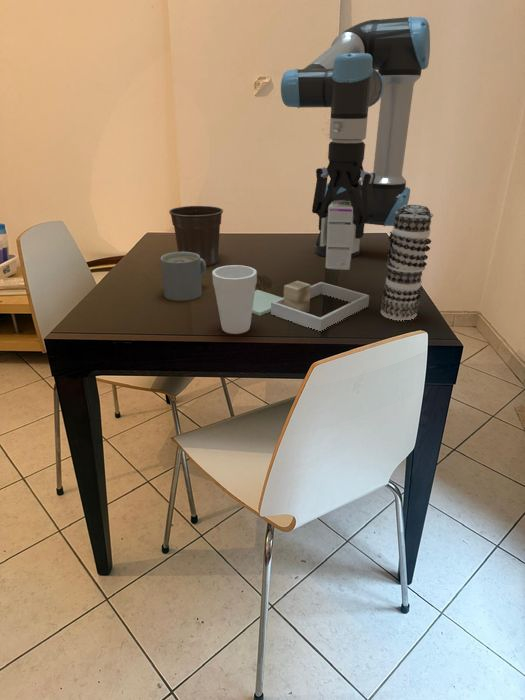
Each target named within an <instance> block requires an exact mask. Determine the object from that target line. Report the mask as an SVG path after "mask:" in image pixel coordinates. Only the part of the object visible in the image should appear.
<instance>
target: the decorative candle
mask: <svg viewBox="0 0 525 700" xmlns="http://www.w3.org/2000/svg"><path fill="white" fill-rule="evenodd" d="M395 214H396V216H395V223H394V226H392V231H389V233H390V234H389V236H388V242H390V243H389V244H388V246H387V248H388V251H387V252H386V254H387V257H388V259H387V261H386V266H387V268H388V269H387V275H386V278H385V284H383V287H384V289H383V291H382V294H383V296H382V298H381V302H382V303H381V304H380V307H381V309H380V314H381V316H383V317H384V318H387V319H388V318H389V320H391V319H392V320H393V321H396V320H397V322H405V321H404V320H410V321H412V320H411V319H413V320H415V319H416V318H417V317H416V316H418V311H419V308H418V307H419V306H420V302H419V301H420V298H421V292H422V276H423V271H425V270H426V266H427V265H428V264H427V262H426V261H425V260H427V259H428V258H429V257H428V255H427V254H426V252H428V251H430V250H431V247H430V246H428V245H430V244H431V243H432V240H431V239H430V238H429V237H430V235H431V234H430V233H431V225H432V218H433V217H434V214H433V213H431V211H430V209H429V207H427V206H426V205H425V206H424V205H422V204H421V205H420V204H407V205H404V206H402V207H401V208H400V209H399V210H398V211H397V212H395ZM415 317H416V318H415ZM414 318H415V319H414ZM399 320H400V321H399ZM402 320H403V321H402Z"/></svg>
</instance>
